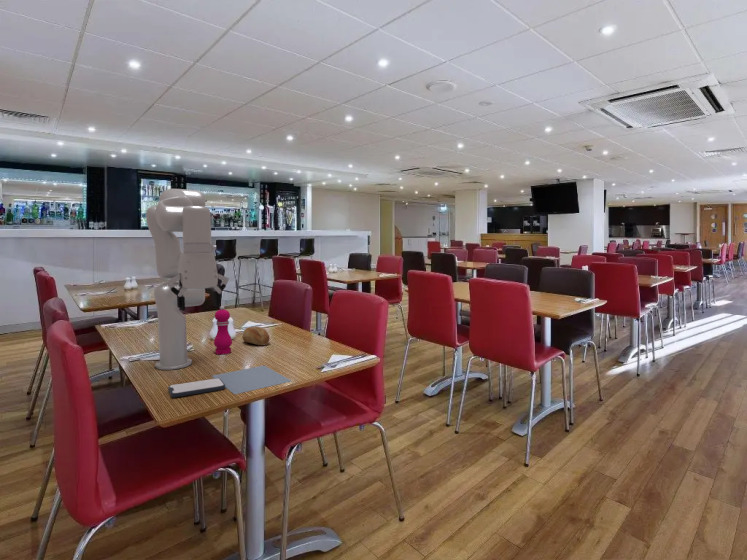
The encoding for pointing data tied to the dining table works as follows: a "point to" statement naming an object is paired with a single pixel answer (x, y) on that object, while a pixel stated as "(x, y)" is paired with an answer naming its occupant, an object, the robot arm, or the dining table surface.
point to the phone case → (196, 387)
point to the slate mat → (251, 379)
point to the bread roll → (256, 335)
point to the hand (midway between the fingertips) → (199, 308)
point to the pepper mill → (222, 332)
